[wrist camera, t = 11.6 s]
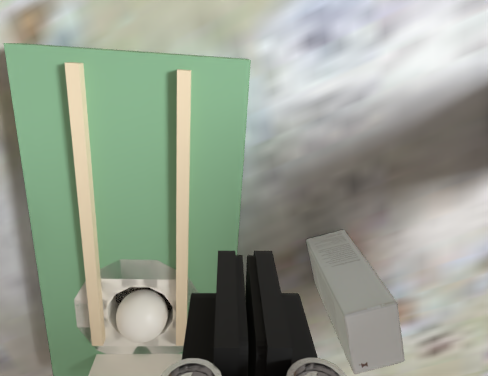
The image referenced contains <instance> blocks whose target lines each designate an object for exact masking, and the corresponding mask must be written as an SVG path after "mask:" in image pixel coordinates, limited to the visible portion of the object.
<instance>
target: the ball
mask: <svg viewBox="0 0 488 376" xmlns="http://www.w3.org/2000/svg"><path fill="white" fill-rule="evenodd" d="M167 320H168V308H167V305H166V302H165V301H164V299H163V298H162V297H161V296H160V295H159V294H158V293H156V292H154V291H152V290H147V289H141V290H136V291H134V292H132V293H130V294H128V295H127V296H126V297H125V298H124V299H123V300H122V301H121V303H120V304H119V306H118V309H117V312H116V324H117V327H118V330H119V331H120V333H121V334H122V335H123V336H124V337H125V338H126V339H128V340H130V341H132V342H137V343H143V342H147V341H150V340H152V339H154V338H156V337H157V336H158V335H159V334H160V333H161V332H162V331H163V329H164V328H165V326H166V323H167Z"/></svg>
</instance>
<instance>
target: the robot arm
mask: <svg viewBox="0 0 488 376" xmlns="http://www.w3.org/2000/svg"><path fill="white" fill-rule="evenodd" d="M161 376H346V375H345V373H344V372H343V371H342V370H341V369H340V368H339V367H338V366H336V365H335V364H333V363H331V362H329V361H327V360H324V359H320V358H317V354H316V351H315V348H314V344H313V341H312V337H311V334H310V330H309V327H308V323H307V320H306V316H305V313H304V309H303V306H302V302H301V299H300V296H299V294H298V293H281V290H280V286H279V281H278V277H277V272H276V267H275V263H274V258H273V254H272V251H254V256H252V255H248V256H247V272H246V293H245V288H244V274H243V260H242V255H236V254H235V251H218V263H217V286H216V293H192V294H191V298H190V305H189V312H188V319H187V326H186V333H185V339H184V346H183V353H182V360H180V361H177V362H176V363H174V364H172V365H170V366H169V367H168V368H167V369H166V370H165V371H164V372H163V373H162V375H161Z"/></svg>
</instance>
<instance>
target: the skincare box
mask: <svg viewBox="0 0 488 376" xmlns="http://www.w3.org/2000/svg"><path fill="white" fill-rule="evenodd" d="M306 243H307V248H308V252H309V257H310V262H311V267H312V271H313V276H314V281H315V285H316V288H317V290H318V292H319V295H320V297H321V300H322V302H323V304H324V306H325V309H326V311H327V313H328V315H329V318H330V320H331V322H332V325H333V327H334V329H335V332H336V334H337V336H338V339H339V341H340V343H341V345H342V348H343V350H344V353H345V355H346V357H347V359H348V362H349V364H350V366H351V368H352V370H353V372H354V374H358V373H362V372H366V371H370V370H374V369H378V368H382V367H386V366H390V365H394V364H397V363H401V362H404V360H405V359H404V350H403V342H402V335H401V328H400V321H399V313H398V304H397V302H396V300H395V299H394V297H393V296H392V295H391V293H390V292H389V291H388V289H387V288H386V286H385V285H384V284H383V282H382V281H381V279H380V278H379V277H378V275H377V274H376V273H375V271H374V270H373V268H372V267H371V266H370V264H369V263H368V262H367V260H366V259H365V257H364V256H363V255H362V253H361V252H360V251H359V249H358V248H357V246H356V245H355V244H354V242H353V241H352V240H351V238H350V237H349V236H348V234H347V233H346V231H345V230H340V231H336V232H332V233H328V234H325V235H321V236H317V237H313V238H309V239H306Z"/></svg>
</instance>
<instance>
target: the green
mask: <svg viewBox="0 0 488 376" xmlns="http://www.w3.org/2000/svg"><path fill="white" fill-rule="evenodd" d="M4 49H5V56H6V63H7V69H8V76H9V83H10V89H11V96H12V103H13V109H14V116H15V123H16V129H17V136H18V143H19V149H20V156H21V163H22V170H23V176H24V183H25V190H26V196H27V203H28V210H29V216H30V223H31V230H32V236H33V243H34V250H35V257H36V263H37V270H38V277H39V283H40V290H41V297H42V303H43V310H44V317H45V323H46V330H47V337H48V344H49V350H50V357H51V364H52V370H53V376H161V375H162V373H163V372H164V371H165V370H166V369H167V368H168V367H169V366H170V365H172V364H174V363H176V362H177V361H180V360H182V353H183V346H184V339H185V333H186V326H187V319H188V312H189V305H190V298H191V294H192V293H216V286H217V263H218V251H235V254H236V255H237V249H238V234H239V220H240V206H241V191H242V177H243V162H244V148H245V134H246V119H247V105H248V90H249V76H250V62H251V60H249V59H241V58H226V57H212V56H197V55H183V54H168V53H154V52H139V51H125V50H110V49H96V48H81V47H67V46H52V45H38V44H23V43H4ZM130 287H149V288H151V289H153V290H155V291H157V292H159V293H161V294H163V295H165V297H166V298H167V300H168V301H169V302H170V304H171V305H172V308H171V309H170V310H169V312H168V320H167V323H166V326H165V328H164V329H163V331H162V332H161V333H160V334H159V335H158V336H157V337H156V338H154V339H152V340H150V341H147V342H143V343H137V342H132V341H130V340H128V339H126V338H125V337H124V336H123V335H122V334H121V333H120V331H119V330H118V327H117V324H116V312H117V309H118V306H119V304H118V303H117V302H116V294H117V293H119V292H121V291H124V290H126V289H128V288H130Z"/></svg>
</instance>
